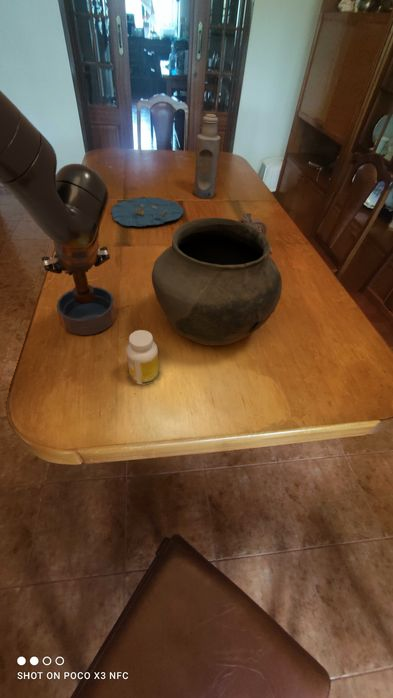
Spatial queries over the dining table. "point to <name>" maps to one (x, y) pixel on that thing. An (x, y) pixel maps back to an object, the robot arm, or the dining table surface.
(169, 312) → the pot
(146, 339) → the pill bottle
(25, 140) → the robot arm
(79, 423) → the dining table surface
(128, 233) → the dining table surface
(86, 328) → the bowl
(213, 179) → the bottle
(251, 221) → the spaceship
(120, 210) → the decorative plate
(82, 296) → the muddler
